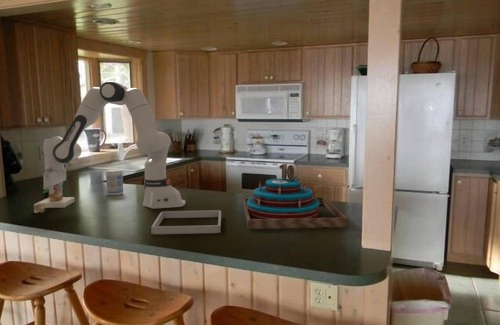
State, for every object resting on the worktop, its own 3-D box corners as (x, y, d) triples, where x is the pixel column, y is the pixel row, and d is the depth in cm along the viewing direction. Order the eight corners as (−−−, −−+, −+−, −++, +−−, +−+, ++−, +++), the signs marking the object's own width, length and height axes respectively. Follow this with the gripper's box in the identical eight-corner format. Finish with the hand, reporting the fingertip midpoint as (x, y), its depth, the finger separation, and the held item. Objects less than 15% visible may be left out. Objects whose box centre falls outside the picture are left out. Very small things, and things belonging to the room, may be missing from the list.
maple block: (44, 210, 199) (44, 202, 199) (43, 212, 195) (42, 204, 195) (36, 211, 198) (35, 203, 197) (34, 213, 194) (33, 205, 194)
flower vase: (54, 202, 251) (65, 199, 222) (33, 199, 244) (42, 195, 216) (59, 184, 253) (70, 179, 225) (38, 180, 247) (47, 174, 219)
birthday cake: (232, 213, 193) (231, 164, 190) (282, 202, 216) (282, 158, 213) (283, 228, 167) (284, 171, 164) (334, 214, 190) (335, 164, 187)
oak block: (62, 199, 214) (62, 190, 213) (58, 201, 209) (58, 191, 208) (53, 199, 214) (52, 190, 213) (49, 201, 209) (48, 191, 208)
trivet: (74, 201, 219) (74, 197, 219) (64, 207, 205) (64, 202, 205) (48, 201, 218) (48, 197, 218) (36, 207, 204) (36, 203, 204)
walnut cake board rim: (323, 204, 211) (323, 196, 210) (347, 227, 168) (348, 218, 168) (243, 205, 208) (243, 198, 208) (247, 229, 166) (247, 219, 165)
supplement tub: (121, 195, 235) (120, 171, 233) (105, 196, 233) (104, 171, 232) (124, 192, 244) (123, 169, 242) (108, 192, 243) (107, 169, 241)
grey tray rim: (221, 216, 186) (221, 210, 186) (220, 232, 161) (220, 225, 160) (161, 217, 185) (161, 211, 184) (151, 234, 159) (150, 227, 158)
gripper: (51, 169, 199) (53, 195, 200) (67, 164, 219) (69, 188, 221) (38, 169, 198) (41, 196, 200) (56, 164, 219) (58, 188, 220)
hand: (56, 192), depth 211 cm, fingers open, 8 cm apart
